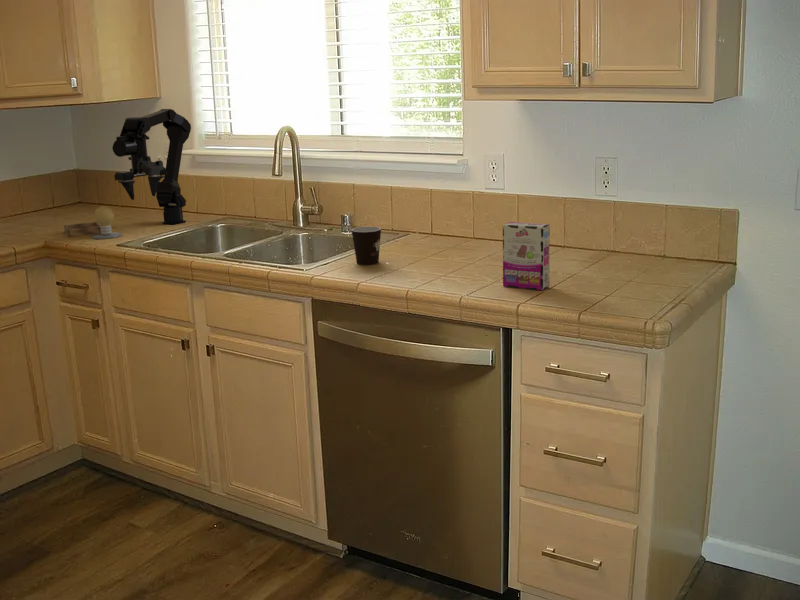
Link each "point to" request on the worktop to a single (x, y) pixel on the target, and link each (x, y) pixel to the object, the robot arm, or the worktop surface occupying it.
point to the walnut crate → (82, 229)
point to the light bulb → (104, 219)
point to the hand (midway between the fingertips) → (143, 197)
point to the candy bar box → (526, 255)
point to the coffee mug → (366, 244)
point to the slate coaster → (112, 235)
